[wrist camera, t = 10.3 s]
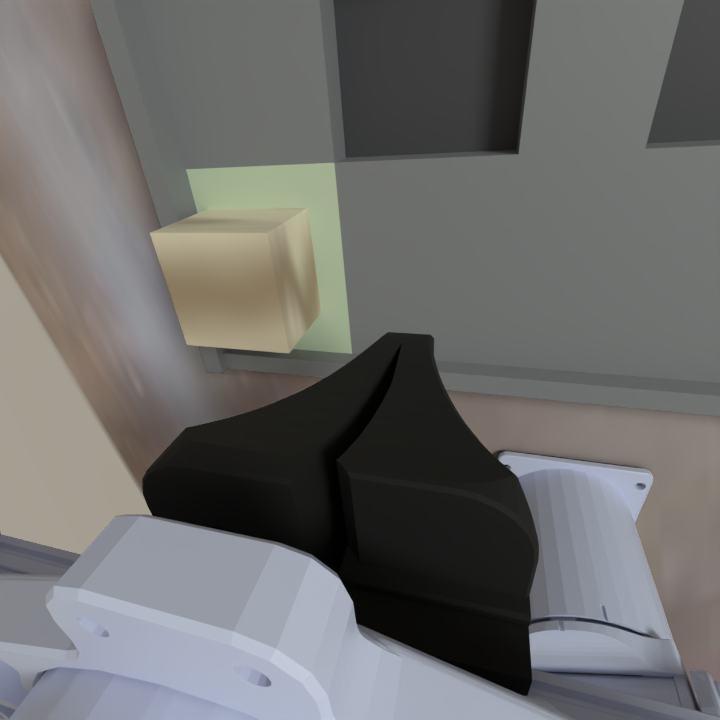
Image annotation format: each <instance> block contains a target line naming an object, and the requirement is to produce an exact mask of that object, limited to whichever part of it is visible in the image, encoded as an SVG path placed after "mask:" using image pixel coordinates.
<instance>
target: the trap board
mask: <svg viewBox="0 0 720 720" xmlns="http://www.w3.org/2000/svg"><path fill="white" fill-rule="evenodd" d="M89 2H90V5H91V8H92V11H93V14H94V18H95V21H96V24H97V27H98V30H99V33H100V36H101V40H102V43H103V46H104V49H105V52H106V55H107V59H108V62H109V65H110V68H111V71H112V74H113V77H114V81H115V84H116V87H117V90H118V93H119V96H120V100H121V103H122V106H123V109H124V112H125V115H126V119H127V122H128V125H129V128H130V131H131V134H132V137H133V141H134V144H135V147H136V150H137V153H138V156H139V160H140V163H141V166H142V169H143V172H144V175H145V178H146V182H147V185H148V188H149V191H150V194H151V197H152V201H153V204H154V207H155V210H156V213H157V216H158V220H159V223H160V226H161V228H163V227H165V226H168V225H170V224H173V223H175V222H178V221H180V220H183V219H185V218H187V217H190V216H192V215H195V214H197V213H200V212H202V211H205V210H207V209H263V208H308V214H309V222H310V230H311V237H312V245H313V253H314V260H315V268H316V276H317V284H318V291H319V299H320V307H321V313H320V315H319V316H318V317H317V319H316V320H315V321H314V322H313V324H312V325H311V326H310V328H309V329H308V330H307V331H306V333H305V334H304V335H303V336H302V338H301V339H300V340H299V342H298V343H297V344H296V345H295V347H294V348H293V349H292V351H291V352H290V353H278V352H266V351H254V350H242V349H229V348H217V347H205V346H199V349H200V352H201V355H202V358H203V362H204V365H205V368H206V371H207V372H210V373H220V374H223V373H224V372H225V371H226V370H227V369H235V370H245V371H256V372H266V373H276V374H287V375H297V376H307V377H318V378H326V377H328V376H329V375H331V374H332V373H334V372H335V371H337V370H338V369H340V368H341V367H343V366H344V365H346V364H347V363H349V362H350V361H352V360H353V359H354V358H356V357H357V356H358V355H359V354H361V353H362V352H363V351H365V350H366V349H367V348H368V347H370V346H371V345H372V344H373V343H375V342H376V341H377V340H378V339H380V338H381V337H382V336H383V335H385V334H386V333H387V332H396V333H412V334H429V335H431V336H432V337H433V338H434V358H435V362H436V365H437V369H438V372H439V375H440V378H441V380H442V383H443V385H444V387H445V389H446V390H452V391H462V392H473V393H483V394H493V395H503V396H514V397H524V398H534V399H545V400H555V401H565V402H576V403H586V404H596V405H607V406H617V407H627V408H638V409H648V410H658V411H669V412H679V413H689V414H700V415H710V416H720V0H89Z"/></svg>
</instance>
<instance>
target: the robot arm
mask: <svg viewBox="0 0 720 720" xmlns="http://www.w3.org/2000/svg"><path fill="white" fill-rule="evenodd" d="M505 465H509V466H505ZM142 482H143V495H144V497H145V500H146V503H147V506H148V508H149V510H150V511H151V513H152V515H153V516H151V515H120V516H116V517H115V518H114V519H113V520H112V521H111V522H110V524H109V525H108V526H107V527H106V528H105V529H104V530H103V531H102V532H101V533H100V535H99V536H98V537H97V538H96V539H95V540H94V542H92V544H91V545H90V546H89V547H88V548H87V549H86V550H85V552H84V553H83V554H82V555H80V554H76V553H72V552H68V551H64V550H60V549H56V548H53V547H49V546H45V545H41V544H37V543H33V542H29V541H25V540H21V539H17V538H13V537H9V536H5V535H1V534H0V720H720V683H718V682H717V681H713V680H712V677H711V676H710V674H709V673H708V672H706V671H703V670H700V671H690V674H691V678H692V681H693V685H694V688H695V691H696V694H697V697H698V700H699V703H698V700H697V697H696V694H695V692H694V689H693V687H692V684H691V682H690V679H689V677H688V675H687V672H686V670H685V667H684V665H683V662H682V660H681V658H680V655H679V653H678V650H677V648H676V645H675V643H674V640H673V637H672V634H671V631H670V628H669V625H668V622H667V619H666V616H665V613H664V610H663V607H662V604H661V601H660V598H659V595H658V592H657V589H656V586H655V583H654V580H653V577H652V574H651V571H650V568H649V565H648V562H647V559H646V556H645V553H644V550H643V547H642V544H641V541H640V538H639V535H638V532H637V529H636V526H635V521H636V519H637V517H638V514H639V512H640V510H641V508H642V505H643V503H644V501H645V498H646V496H647V494H648V491H649V489H650V487H651V485H652V482H653V476H652V474H651V472H650V471H648V470H646V469H641V468H633V467H625V466H617V465H610V464H602V463H594V462H586V461H579V460H571V459H563V458H556V457H548V456H540V455H532V454H525V453H517V452H509V451H504V452H501V453H500V454H499V456H498V459H497V458H495V457H494V456H493V455H492V454H491V453H490V452H489V451H488V450H487V449H486V448H485V447H484V446H483V444H482V443H481V442H480V441H479V440H478V439H477V437H476V436H475V435H474V434H473V432H472V431H471V430H470V429H469V427H468V426H467V425H466V424H465V422H464V421H463V419H462V418H461V416H460V415H459V413H458V412H457V410H456V408H455V407H454V405H453V403H452V401H451V400H450V398H449V396H448V394H447V392H446V389H445V387H444V385H443V383H442V380H441V378H440V375H439V372H438V369H437V365H436V362H435V358H434V338H433V337H432V336H431V335H429V334H412V333H396V332H387V333H386V334H385V335H383V336H382V337H381V338H380V339H378V340H377V341H376V342H375V343H373V344H372V345H371V346H370V347H368V348H367V349H366V350H365V351H363V352H362V353H361V354H359V355H358V356H357V357H356V358H354V359H353V360H352V361H350V362H349V363H347V364H346V365H344V366H343V367H341V368H340V369H338V370H337V371H335V372H334V373H332V374H331V375H329V376H328V377H326V378H324V379H323V380H321V381H319V382H318V383H316V384H314V385H312V386H310V387H308V388H306V389H304V390H302V391H300V392H298V393H296V394H294V395H291V396H289V397H287V398H284V399H282V400H280V401H277V402H275V403H273V404H270V405H268V406H265V407H262V408H259V409H256V410H253V411H250V412H247V413H244V414H241V415H238V416H234V417H231V418H227V419H223V420H219V421H214V422H210V423H206V424H202V425H198V426H193V427H188V428H185V429H184V431H183V432H182V433H181V434H180V435H179V436H178V437H177V438H176V439H175V440H174V441H173V442H172V444H171V445H170V446H169V447H168V448H167V449H166V450H165V451H164V452H163V453H162V454H161V455H160V457H159V458H158V459H157V460H156V461H155V462H154V463H153V464H152V465H151V466H150V467H149V469H148V470H147V471H146V473H145V475H144V477H143V479H142ZM638 483H642V484H638Z"/></svg>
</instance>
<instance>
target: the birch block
mask: <svg viewBox="0 0 720 720" xmlns="http://www.w3.org/2000/svg"><path fill="white" fill-rule="evenodd" d="M150 235H151V238H152V241H153V244H154V247H155V250H156V253H157V256H158V259H159V262H160V265H161V268H162V271H163V274H164V277H165V280H166V283H167V286H168V289H169V292H170V295H171V298H172V301H173V304H174V307H175V310H176V313H177V316H178V319H179V322H180V325H181V328H182V331H183V334H184V337H185V340H186V343H187V345H193V346H205V347H217V348H229V349H242V350H254V351H266V352H278V353H290V352H291V351H292V349H293V348H294V347H295V345H296V344H297V343H298V342H299V340H300V339H301V338H302V336H303V335H304V334H305V333H306V331H307V330H308V329H309V328H310V326H311V325H312V324H313V322H314V321H315V320H316V319H317V317H318V316H319V315H320V313H321V307H320V299H319V291H318V284H317V276H316V268H315V260H314V253H313V245H312V237H311V230H310V222H309V214H308V208H263V209H207V210H205V211H202V212H200V213H197V214H195V215H192V216H190V217H187V218H185V219H183V220H180V221H178V222H175V223H173V224H170V225H168V226H165V227H163V228H160V229H158V230H155V231H153V232H151V233H150Z"/></svg>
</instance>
